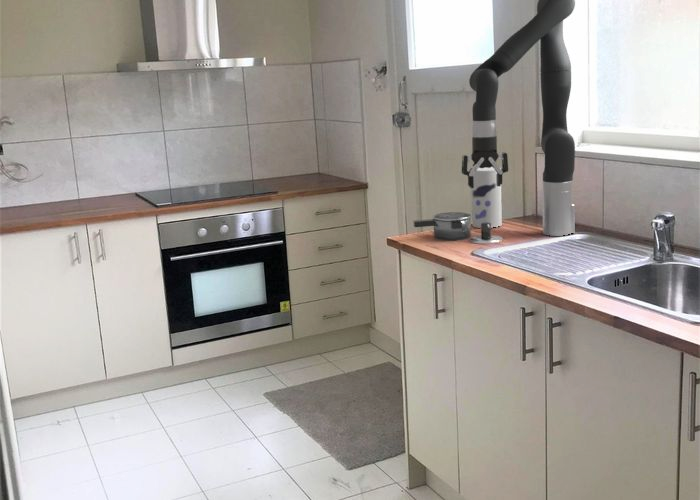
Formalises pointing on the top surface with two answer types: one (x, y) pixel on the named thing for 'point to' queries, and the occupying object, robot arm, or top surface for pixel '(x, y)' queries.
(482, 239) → the lid
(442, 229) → the pot
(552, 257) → the top surface
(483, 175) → the container
